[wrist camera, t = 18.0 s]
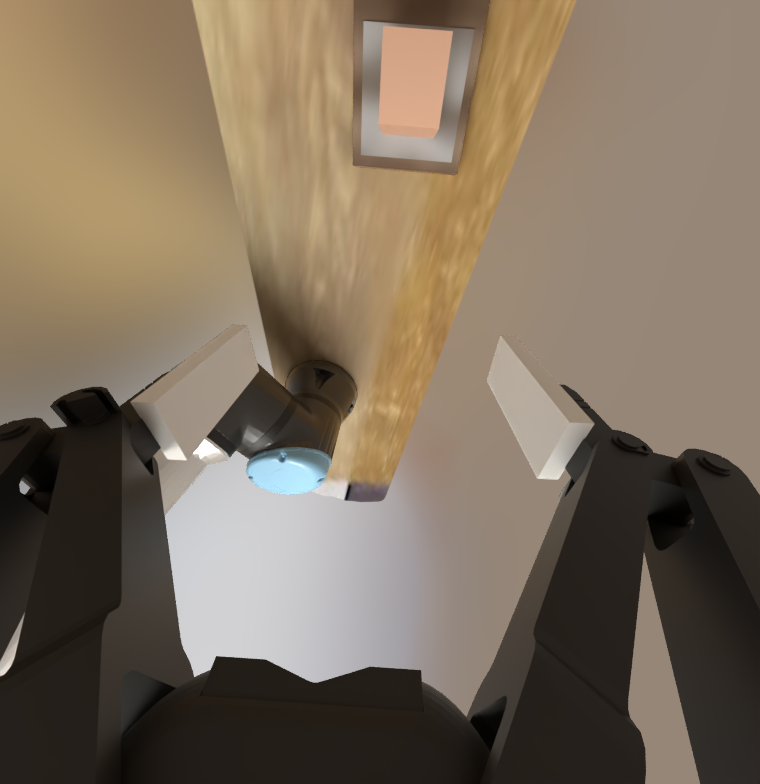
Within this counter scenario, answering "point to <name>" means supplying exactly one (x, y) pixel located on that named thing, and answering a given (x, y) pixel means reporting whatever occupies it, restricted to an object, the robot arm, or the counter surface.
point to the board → (467, 21)
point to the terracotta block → (413, 80)
